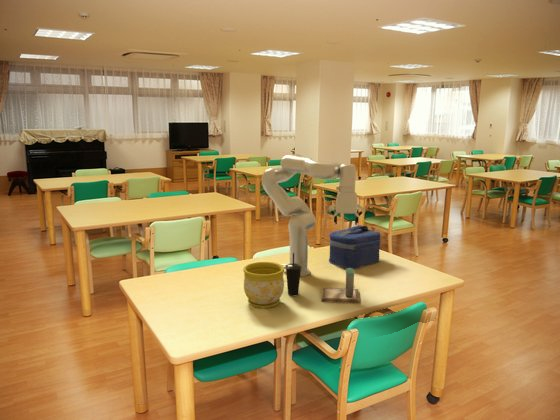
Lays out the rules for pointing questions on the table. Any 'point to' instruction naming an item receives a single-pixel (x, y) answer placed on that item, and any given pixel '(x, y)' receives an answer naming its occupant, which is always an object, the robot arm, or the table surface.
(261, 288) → the flowerpot
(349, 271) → the translucent bottle
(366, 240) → the lunch bag
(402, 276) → the table surface
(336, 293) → the board
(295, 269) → the drinking cup
